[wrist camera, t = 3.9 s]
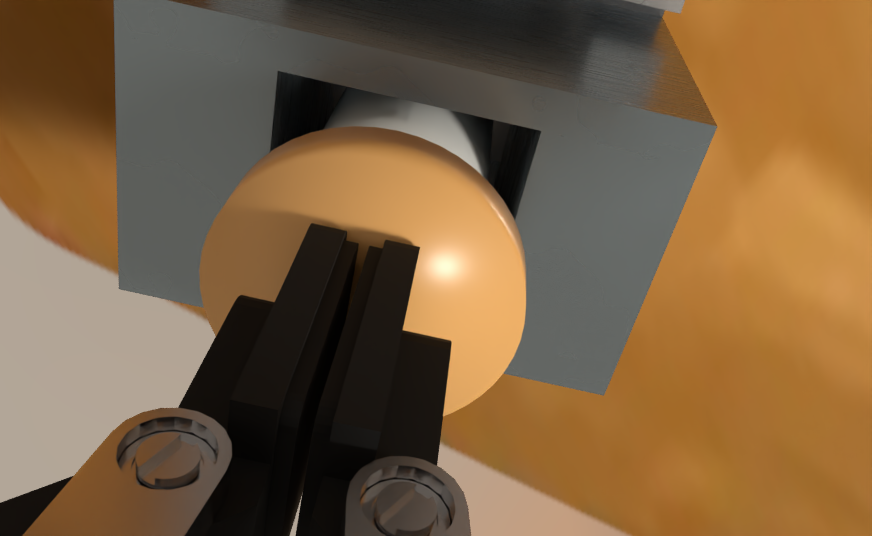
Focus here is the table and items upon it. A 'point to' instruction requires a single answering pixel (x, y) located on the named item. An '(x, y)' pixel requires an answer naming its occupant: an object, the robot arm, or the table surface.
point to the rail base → (440, 87)
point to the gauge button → (386, 226)
